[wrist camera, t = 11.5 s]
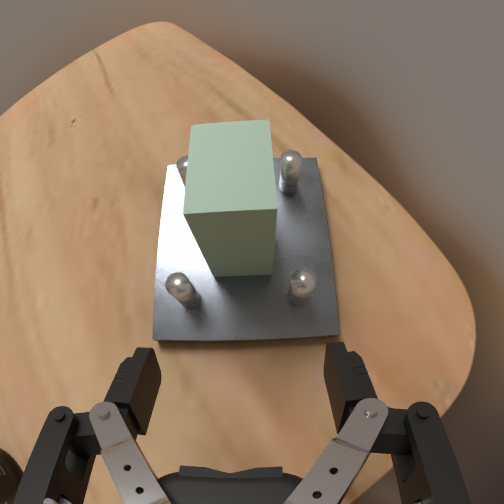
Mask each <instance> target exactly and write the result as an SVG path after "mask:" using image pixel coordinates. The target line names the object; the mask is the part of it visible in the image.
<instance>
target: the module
mask: <svg viewBox="0 0 504 504" xmlns="http://www.w3.org/2000/svg"><path fill="white" fill-rule="evenodd" d="M183 215H184V217H185V219H186V222H187V224H188V226H189V228H190V230H191V232H192V234H193V236H194V238H195V240H196V242H197V245H198V247H199V249H200V251H201V253H202V255H203V257H204V259H205V261H206V263H207V265H208V267H209V269H210V271H211V273H212V275H213V277H224V276H248V275H270V274H272V272H273V260H274V248H275V235H276V222H277V197H276V186H275V175H274V164H273V154H272V144H271V134H270V124H269V120H252V121H234V122H220V123H208V124H198V125H192V126H191V134H190V143H189V152H188V161H187V172H186V182H185V194H184V206H183Z"/></svg>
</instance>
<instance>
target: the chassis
mask: <svg viewBox="0 0 504 504" xmlns="http://www.w3.org/2000/svg"><path fill="white" fill-rule="evenodd" d="M187 161H188V156H183V157H181V158H180V159H179V160H178V161H177V164H176V165H168V168H167V174H166V182H165V189H164V197H163V205H162V213H161V222H160V232H159V242H158V253H157V265H156V278H155V294H154V314H153V340H156V341H169V342H241V341H271V340H291V339H307V338H320V337H333V336H337V335H339V334H340V331H339V319H338V308H337V298H336V288H335V279H334V270H333V262H332V254H331V246H330V239H329V232H328V225H327V218H326V211H325V205H324V198H323V192H322V186H321V180H320V174H319V169H318V163H317V158H302V156H301V155H300V153H298V152H297V151H294V150H287V151H285V152H283V154H282V155H281V158H273V164H274V175H275V186H276V197H277V222H276V235H275V248H274V260H273V272H272V274H270V275H248V276H224V277H213V275H212V273H211V271H210V269H209V267H208V265H207V263H206V261H205V259H204V257H203V255H202V253H201V251H200V249H199V247H198V245H197V242H196V240H195V238H194V236H193V234H192V232H191V230H190V228H189V226H188V224H187V222H186V219H185V217H184V215H183V206H184V194H185V182H186V172H187Z"/></svg>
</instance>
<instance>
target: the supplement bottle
mask: <svg viewBox="0 0 504 504" xmlns="http://www.w3.org/2000/svg"><path fill="white" fill-rule="evenodd" d="M22 476H23V473H22V471H21V469H20V467H19V466H18V464H17V463H16V461H15V460H14V459H13V458H12V457H11V456H10V455H9V454H8V453H7V452H6V451H4V450H2V449H0V504H13V502H14V499H15V496H16V493H17V490H18V487H19V484H20V482H21V479H22Z"/></svg>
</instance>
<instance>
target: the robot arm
mask: <svg viewBox="0 0 504 504" xmlns="http://www.w3.org/2000/svg"><path fill="white" fill-rule="evenodd" d="M324 379H325V383H326V388H327V392H328V396H329V400H330V404H331V409H332V413H333V417H334V421H335V426H336V430H337V434H338V435H337V437H336V438H335V439H334V438H333V439H332V440H331V441H330V443H329V444H328V445H327V447H326V448H325V450H324V451H323V453H322V454H321V455H320V457H319V458H318V460H317V461H316V462H315V464H314V465H313V467H312V468H311V469H310V471H309V472H308V473H307V475H306V476H305V477H304V478H303V479H302V478H300V477H298V476H295V475H292V474H288V473H283V471H282V467H266V468H254V469H249V470H245V471H240V472H235V473H225V472H221V471H217V470H213V469H209V468H205V467H193V466H180V469H179V472H175V473H171V474H168V475H165V476H163V477H161V478H159V479H158V477H157V476H156V474H155V473H154V471H153V469H152V468H151V466H150V464H149V463H148V461H147V459H146V458H145V456H144V454H143V452H142V451H141V449H140V447H139V445H138V444H137V442H136V438H137V434H139V435H146V432H147V428H148V425H149V421H150V418H151V414H152V411H153V408H154V404H155V401H156V397H157V394H158V391H159V387H160V384H161V370H160V367H159V364H158V361H157V358H156V355H155V351H154V349H153V348H141V347H138V348H136V350H135V353H134V355H133V357H127V358H126V359H125V360H124V361H123V362H122V363H121V364H120V366H119V368H118V371H117V373H116V375H115V377H114V380H113V382H112V384H111V386H110V388H109V390H108V393H107V395H106V397H105V400H104V402H101V403H98V404H96V405H95V406H93V408H92V409H91V410H90V412H85V413H76V414H74V413H73V412H72V410H71V409H70V408H68V407H66V406H60V407H56V408H54V409H53V410H52V411H51V412H50V413H49V415H48V417H47V419H46V421H45V423H44V425H43V428H42V430H41V432H40V434H39V437H38V439H37V441H36V444H35V446H34V449H33V451H32V453H31V456H30V458H29V461H28V463H27V466H26V468H25V471H24V474H23V476H22V479H21V482H20V484H19V487H18V490H17V493H16V496H15V499H14V502H13V504H83V502H84V498H85V494H86V490H87V486H88V482H89V479H90V475H91V471H92V468H93V464H94V461H95V457H96V455H99V454H101V455H102V457H103V460H104V462H105V464H106V466H107V469H108V471H109V473H110V475H111V477H112V479H113V481H114V483H115V486H116V488H117V490H118V492H119V494H120V495H121V497H122V499H123V501H124V503H125V504H341V502H342V501H343V499H344V498H345V496H346V495H347V493H348V491H349V490H350V488H351V486H352V484H353V483H354V481H355V479H356V478H357V476H358V474H359V473H360V471H361V469H362V467H363V466H364V464H365V462H366V460H367V459H368V457H369V455H370V453H384V454H391V457H392V461H393V466H394V469H395V474H396V478H397V483H398V487H399V491H400V497H401V501H402V504H471V502H470V499H469V496H468V493H467V489H466V486H465V483H464V480H463V477H462V474H461V472H460V469H459V466H458V463H457V460H456V457H455V455H454V452H453V449H452V447H451V445H450V442H449V439H448V436H447V434H446V431H445V429H444V426H443V424H442V421H441V419H440V417H439V414H438V412H437V410H436V408H435V407H434V406H433V405H431V404H430V403H427V402H416V403H414V404H412V405H411V406H410V407H409V408H408V409H394V408H389V407H387V406H386V404H385V403H384V402H382V401H381V400H379V399H378V398H377V395H376V393H375V390H374V387H373V385H372V382H371V380H370V377H369V375H368V372H367V370H366V368H365V365H364V362H363V360H362V358H361V357H360V356H359V355H358V354H357V353H356V352H355V351H352V352H347V350H346V347H345V344H344V342H334V343H327V345H326V353H325V361H324Z"/></svg>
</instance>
